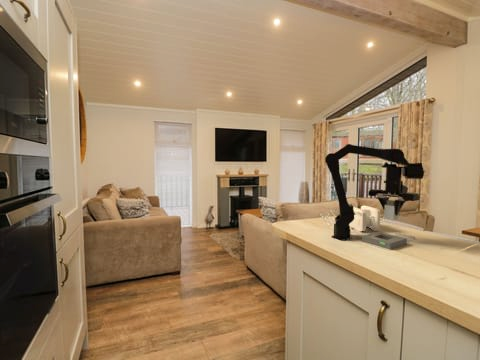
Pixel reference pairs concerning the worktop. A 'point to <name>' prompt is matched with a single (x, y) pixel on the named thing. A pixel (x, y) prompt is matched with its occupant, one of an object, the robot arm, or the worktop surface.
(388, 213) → the plug
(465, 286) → the worktop surface
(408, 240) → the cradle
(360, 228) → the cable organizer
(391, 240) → the socket plate
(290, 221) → the worktop surface
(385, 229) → the worktop surface
